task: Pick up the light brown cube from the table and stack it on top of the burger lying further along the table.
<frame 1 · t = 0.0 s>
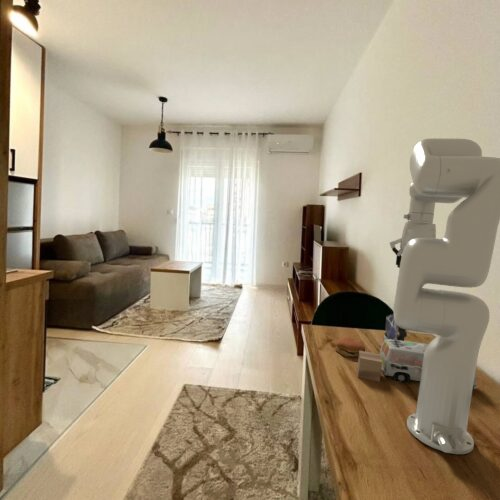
hand: (414, 269, 111), 31 cm above the table, tool pointing down, fingers open, 9 cm apart
light brown cube: (367, 375, 97), on the table
decorative emblem: (392, 352, 118), on the table
toy car: (422, 380, 98), on the table
burger: (349, 353, 114), on the table
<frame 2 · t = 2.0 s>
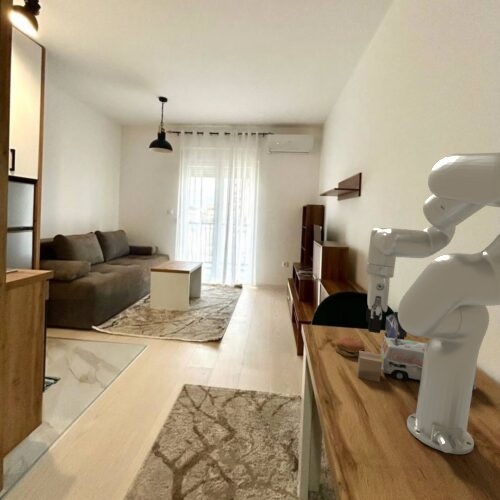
hand: (372, 326, 97), 15 cm above the table, tool pointing down, fingers open, 9 cm apart
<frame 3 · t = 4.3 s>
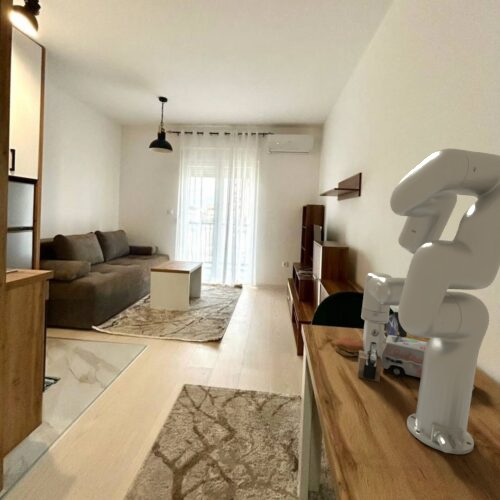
hand: (368, 372, 97), 1 cm above the table, tool pointing down, fingers closed on light brown cube, 6 cm apart
light brown cube: (367, 375, 97), on the table, touching gripper
toy car: (422, 377, 99), on the table
everything else where it was.
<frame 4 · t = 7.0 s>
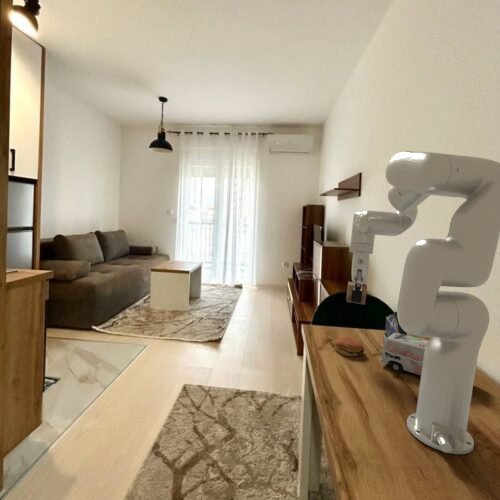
hand: (355, 299, 112), 19 cm above the table, tool pointing down, fingers closed on light brown cube, 6 cm apart
light brown cube: (355, 301, 112), point 18 cm above the table, touching gripper
toy car: (424, 375, 101), on the table
everything else where it was.
when the fingers open (7 cm above the table, at t = 9.9 s): light brown cube drops 2 cm, resting on burger.
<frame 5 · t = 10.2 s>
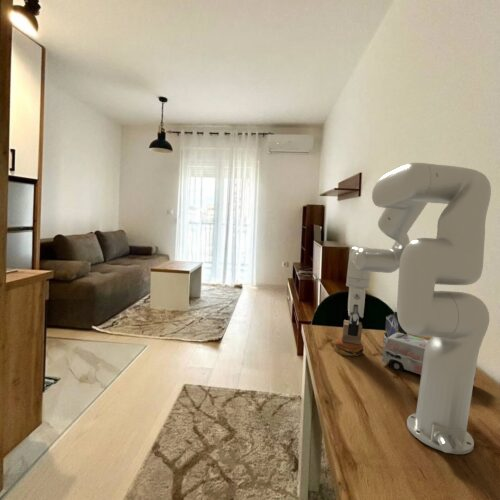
hand: (352, 331, 113), 8 cm above the table, tool pointing down, fingers open, 8 cm apart
light brown cube: (351, 340, 114), point 4 cm above the table, touching burger
burger: (348, 352, 115), on the table, touching light brown cube
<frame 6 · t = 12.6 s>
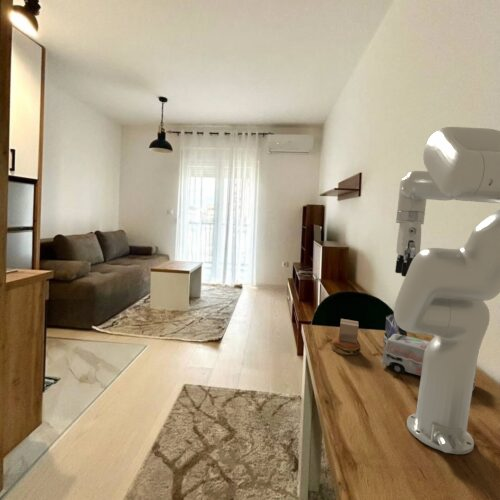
hand: (403, 274, 98), 31 cm above the table, tool pointing down, fingers open, 9 cm apart
light brown cube: (347, 338, 115), point 4 cm above the table, touching burger
burger: (345, 351, 115), on the table, touching light brown cube
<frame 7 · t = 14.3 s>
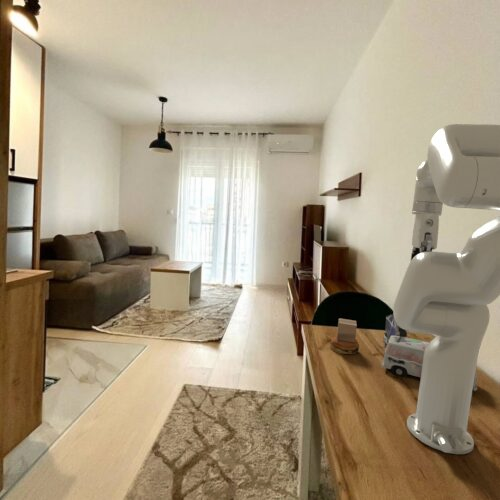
hand: (419, 268, 95), 33 cm above the table, tool pointing down, fingers open, 9 cm apart
at the end: light brown cube inside the target area on the burger (0.3 cm from its centre), point 4.8 cm above the burger's base; light brown cube tilted 0°; the gripper is holding nothing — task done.
